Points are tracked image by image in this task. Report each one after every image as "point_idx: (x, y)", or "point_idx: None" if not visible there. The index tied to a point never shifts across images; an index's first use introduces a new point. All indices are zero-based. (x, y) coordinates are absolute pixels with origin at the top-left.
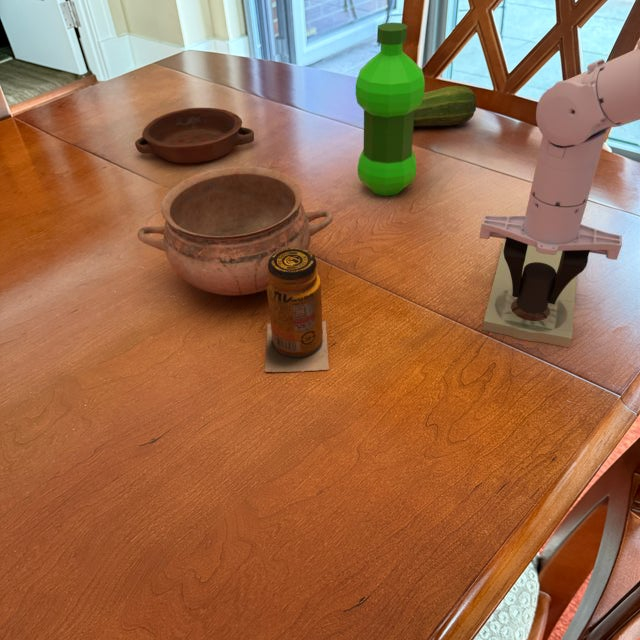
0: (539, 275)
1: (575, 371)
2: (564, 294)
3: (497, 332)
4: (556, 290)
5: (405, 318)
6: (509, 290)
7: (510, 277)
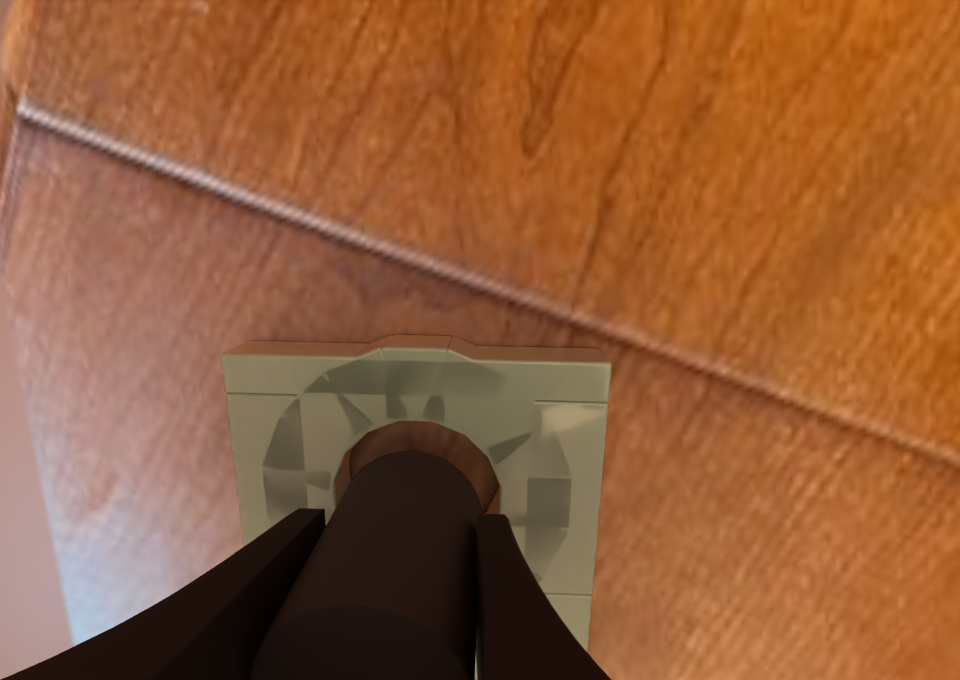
0: (356, 651)
1: (204, 206)
2: None
3: (535, 347)
4: (253, 560)
5: (940, 332)
6: None
7: None
